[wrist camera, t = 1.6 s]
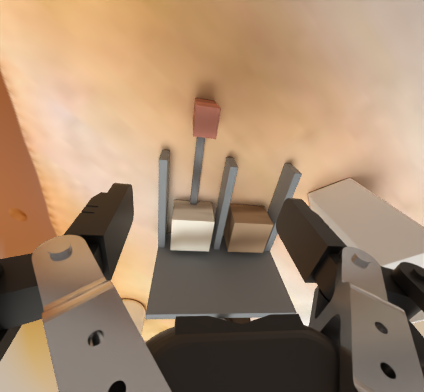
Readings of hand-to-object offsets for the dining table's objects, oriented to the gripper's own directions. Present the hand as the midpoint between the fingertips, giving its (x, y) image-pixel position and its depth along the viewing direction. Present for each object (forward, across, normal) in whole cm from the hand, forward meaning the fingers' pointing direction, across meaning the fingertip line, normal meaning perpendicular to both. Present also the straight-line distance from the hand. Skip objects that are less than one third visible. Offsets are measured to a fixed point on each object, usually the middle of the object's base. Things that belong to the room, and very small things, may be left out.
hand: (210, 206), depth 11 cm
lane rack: (+18, -5, +12) cm, 22 cm away
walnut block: (+18, -10, +15) cm, 26 cm away
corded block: (+18, -1, +7) cm, 20 cm away
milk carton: (+18, -24, +10) cm, 32 cm away
